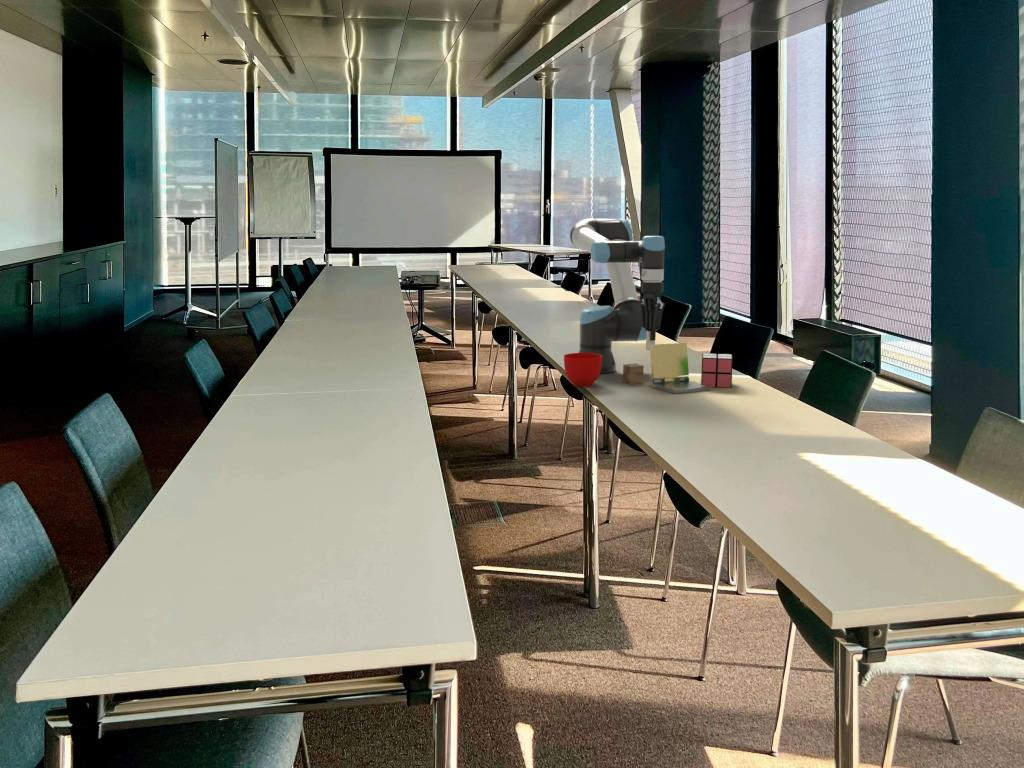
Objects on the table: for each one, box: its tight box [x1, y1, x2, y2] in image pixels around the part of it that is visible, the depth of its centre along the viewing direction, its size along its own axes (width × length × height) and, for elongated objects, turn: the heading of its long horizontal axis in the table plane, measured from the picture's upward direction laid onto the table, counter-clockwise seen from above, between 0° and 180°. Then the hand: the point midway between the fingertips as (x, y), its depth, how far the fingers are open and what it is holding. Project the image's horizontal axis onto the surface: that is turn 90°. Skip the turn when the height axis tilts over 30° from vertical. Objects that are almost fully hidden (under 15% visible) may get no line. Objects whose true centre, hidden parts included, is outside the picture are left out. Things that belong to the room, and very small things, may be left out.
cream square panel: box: [649, 342, 690, 383], centre depth 323 cm, size 14×13×2 cm
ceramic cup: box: [563, 352, 602, 388], centre depth 326 cm, size 13×17×10 cm
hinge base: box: [651, 375, 711, 395], centre depth 319 cm, size 14×13×3 cm
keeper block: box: [622, 363, 645, 385], centre depth 330 cm, size 5×5×6 cm
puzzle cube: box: [700, 353, 733, 389], centre depth 325 cm, size 10×10×10 cm
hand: (650, 349), depth 333 cm, fingers closed
